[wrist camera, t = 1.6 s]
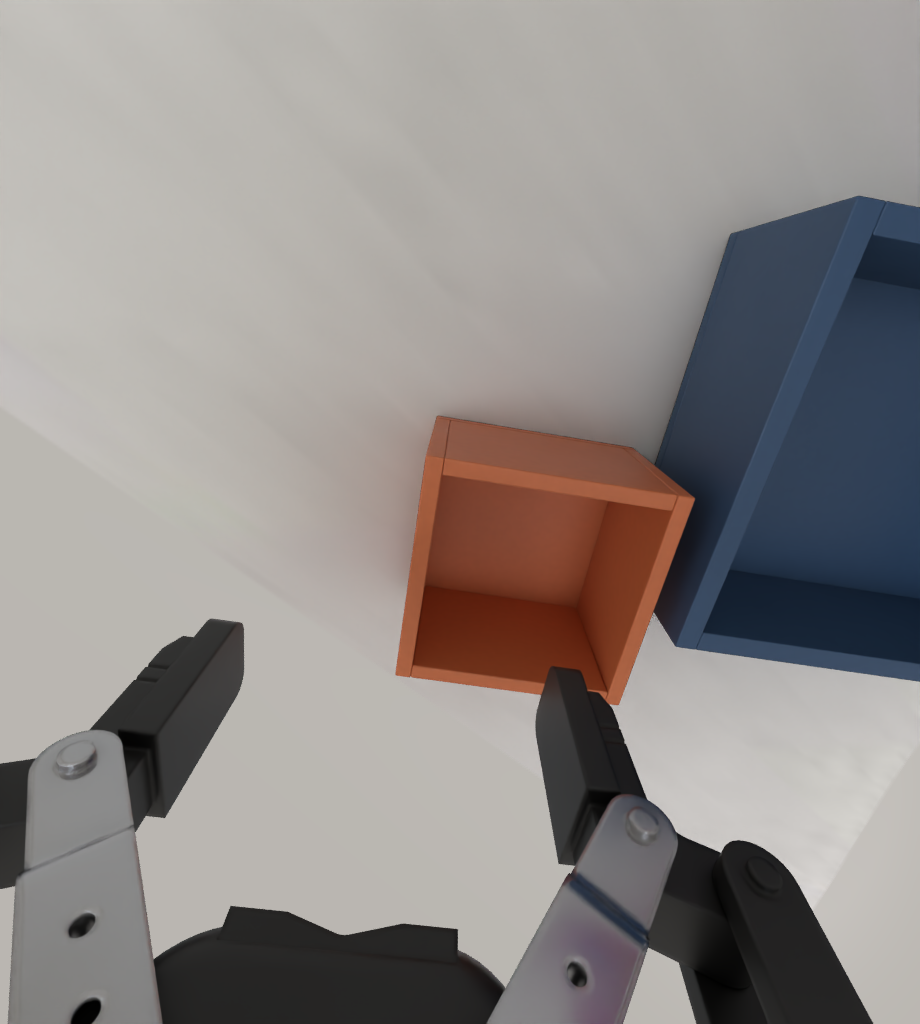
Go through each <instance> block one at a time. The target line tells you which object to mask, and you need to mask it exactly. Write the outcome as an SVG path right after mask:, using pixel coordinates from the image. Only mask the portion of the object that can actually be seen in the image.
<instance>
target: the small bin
mask: <svg viewBox="0 0 920 1024" xmlns="http://www.w3.org/2000/svg"><path fill="white" fill-rule="evenodd" d="M694 501H695V498H694V497H693V496H692V495H690V494H689V493H688V492H687V491H685V490H684V489H683V488H682V487H681V486H679V485H678V484H677V483H676V482H674V481H673V480H672V479H671V478H669V477H668V476H667V475H666V474H664V473H663V472H662V471H661V470H659V469H658V468H657V467H656V466H654V465H653V464H652V463H651V462H650V461H648V460H647V459H646V458H645V457H643V456H642V455H641V454H640V453H638V452H637V451H636V450H635V449H633V448H631V447H625V446H619V445H613V444H607V443H600V442H594V441H588V440H582V439H576V438H570V437H564V436H558V435H552V434H545V433H539V432H533V431H527V430H521V429H515V428H509V427H503V426H497V425H490V424H484V423H478V422H472V421H466V420H460V419H454V418H448V417H442V416H437V418H436V421H435V425H434V429H433V432H432V436H431V439H430V443H429V447H428V450H427V454H426V458H425V465H424V473H423V480H422V487H421V494H420V501H419V509H418V516H417V523H416V530H415V537H414V544H413V552H412V559H411V566H410V573H409V580H408V588H407V595H406V602H405V609H404V616H403V623H402V631H401V638H400V645H399V652H398V659H397V666H396V675H397V676H404V677H410V676H411V677H414V678H421V679H428V680H436V681H443V682H451V683H458V684H465V685H473V686H480V687H487V688H495V689H502V690H510V691H517V692H524V693H532V694H539V695H542V692H543V688H544V685H545V681H546V678H547V674H548V671H549V669H550V667H551V666H557V667H564V668H572V669H579V670H580V671H581V672H582V674H583V677H584V680H585V683H586V686H587V689H588V691H591V692H599V693H600V694H601V696H602V697H603V698H604V699H605V700H606V702H607V703H608V704H612V705H619V703H620V700H621V697H622V695H623V692H624V689H625V687H626V684H627V681H628V678H629V676H630V673H631V670H632V668H633V665H634V662H635V660H636V657H637V654H638V652H639V649H640V646H641V643H642V641H643V638H644V635H645V633H646V630H647V627H648V625H649V622H650V619H651V617H652V614H653V611H654V608H655V606H656V603H657V600H658V598H659V595H660V592H661V590H662V587H663V584H664V582H665V579H666V576H667V573H668V571H669V568H670V565H671V563H672V560H673V557H674V555H675V552H676V549H677V546H678V544H679V541H680V538H681V536H682V533H683V530H684V528H685V525H686V522H687V520H688V517H689V514H690V511H691V509H692V506H693V503H694Z"/></svg>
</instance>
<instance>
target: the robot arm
mask: <svg viewBox="0 0 920 1024" xmlns="http://www.w3.org/2000/svg"><path fill="white" fill-rule="evenodd" d="M243 675H244V628H243V624H242V623H240V622H232V621H225V620H218V619H210V620H208V621H207V622H206V623H205V624H204V626H203V627H202V628H201V629H200V630H199V632H198V633H197V634H196V635H195V637H186V636H183V637H181V638H179V639H178V640H176V641H174V642H172V643H171V644H169V645H167V646H166V647H164V648H162V650H161V651H160V652H159V653H158V654H157V655H156V656H155V657H154V658H153V660H152V661H151V662H150V663H149V665H148V667H145V668H144V670H143V671H142V672H141V673H140V674H139V675H138V677H137V679H136V680H134V681H133V682H132V683H131V684H130V685H129V686H128V687H127V689H126V690H125V691H124V692H123V693H122V694H121V695H120V696H119V698H118V699H117V700H116V701H115V702H114V703H113V704H112V705H111V706H110V708H109V709H108V710H107V711H106V712H105V713H104V714H103V716H101V718H100V719H99V720H98V721H97V722H96V723H95V724H94V725H93V727H92V728H91V729H90V730H89V731H83V732H79V733H76V734H72V735H70V736H67V737H65V738H63V739H61V740H59V741H57V742H55V743H54V744H52V745H51V746H49V747H48V748H46V749H45V750H44V751H43V752H42V753H41V754H40V755H39V756H38V757H37V758H36V759H30V760H23V761H16V762H9V763H2V764H0V889H3V888H8V887H12V886H15V899H14V919H13V936H12V955H11V974H10V992H9V1011H8V1024H623V1022H624V1019H625V1016H626V1013H627V1009H628V1007H629V1003H630V1001H631V998H632V995H633V992H634V989H635V986H636V983H637V980H638V976H639V973H640V970H641V967H642V964H643V961H644V958H645V955H646V952H647V949H648V948H651V949H652V950H655V951H657V952H659V953H661V954H663V955H665V956H667V957H669V958H671V959H673V960H675V961H677V962H679V965H680V968H681V972H682V975H683V979H684V982H685V985H686V989H687V993H688V996H689V1000H690V1003H691V1006H692V1009H693V1013H694V1017H695V1020H696V1024H873V1022H872V1021H871V1019H870V1017H869V1015H868V1013H867V1011H866V1009H865V1008H864V1006H863V1004H862V1002H861V1000H860V998H859V996H858V995H857V993H856V991H855V989H854V987H853V985H852V983H851V982H850V980H849V978H848V976H847V975H846V972H845V971H844V969H843V967H842V965H841V963H840V961H839V959H838V958H837V956H836V954H835V952H834V950H833V948H832V946H831V945H830V943H829V941H828V939H827V938H826V935H825V933H824V932H823V930H822V928H821V926H820V924H819V922H818V920H817V919H816V917H815V915H814V913H813V911H812V909H811V907H810V906H809V904H808V902H807V900H806V898H805V896H804V894H803V893H802V891H801V889H800V887H799V885H798V883H797V882H796V880H795V879H794V877H793V876H792V874H791V873H790V872H789V870H788V869H787V868H786V867H785V866H784V865H783V864H782V863H781V862H780V861H779V860H778V859H777V858H776V857H774V856H773V855H772V854H771V853H769V852H768V851H766V850H765V849H763V848H761V847H759V846H757V845H755V844H753V843H750V842H746V841H740V840H737V841H732V842H729V843H728V844H727V845H726V846H725V847H724V849H723V850H722V852H721V853H720V852H718V851H715V850H713V849H711V848H708V847H706V846H704V845H701V844H699V843H697V842H694V841H692V840H690V839H687V838H685V837H683V836H681V835H680V834H678V833H676V831H675V829H674V827H673V825H672V823H671V822H670V820H669V819H668V817H667V816H666V815H665V814H664V813H663V811H661V810H660V809H659V808H658V807H657V806H656V805H654V804H653V803H652V802H650V801H648V800H647V798H646V795H645V793H644V790H643V788H642V785H641V782H640V780H639V777H638V775H637V772H636V769H635V767H634V764H633V761H632V759H631V756H630V754H629V751H628V748H627V746H626V744H624V738H623V735H622V733H621V730H620V729H619V725H618V722H617V719H616V717H615V714H614V712H613V709H612V708H611V706H610V705H609V704H608V703H607V702H606V700H605V699H604V698H603V697H602V696H601V694H600V693H599V692H591V691H588V689H587V686H586V683H585V680H584V677H583V674H582V672H581V671H580V670H579V669H572V668H564V667H557V666H551V667H550V669H549V671H548V674H547V678H546V681H545V685H544V688H543V692H542V695H541V698H540V702H539V705H538V709H537V714H536V738H537V744H538V749H539V755H540V761H541V766H542V772H543V778H544V783H545V789H546V795H547V800H548V806H549V812H550V817H551V823H552V829H553V834H554V840H555V845H556V851H557V857H558V863H559V864H565V865H574V866H575V867H574V869H573V871H572V873H571V874H570V873H569V874H568V875H567V877H566V878H565V880H564V882H563V884H562V886H561V887H560V889H559V891H558V893H557V895H556V897H555V898H554V900H553V902H552V904H551V906H550V908H549V909H548V911H547V913H546V915H545V917H544V919H543V920H542V923H541V924H540V926H539V928H538V930H537V931H536V933H535V935H534V937H533V939H532V941H531V943H530V944H529V946H528V948H527V950H526V952H525V953H524V955H523V957H522V959H521V961H520V963H519V964H518V967H517V969H516V970H515V972H514V974H513V975H512V977H511V979H510V981H509V983H508V985H507V987H506V988H505V987H504V985H503V984H502V983H501V982H500V981H499V980H498V979H497V978H496V977H495V976H494V975H493V974H492V972H490V971H489V970H488V969H487V968H486V967H484V966H483V965H482V964H481V963H480V962H478V961H477V960H475V959H474V958H472V957H470V956H469V955H467V954H465V953H463V952H461V951H459V950H458V930H457V929H450V928H440V927H431V926H421V925H411V924H399V925H395V926H390V927H384V928H380V929H375V930H370V931H365V932H360V933H355V934H350V935H339V934H336V933H334V932H332V931H329V930H327V929H325V928H323V927H320V926H318V925H316V924H314V923H312V922H309V921H307V920H305V919H303V918H300V917H298V916H296V915H294V914H291V913H289V912H284V911H273V910H265V909H255V908H245V907H235V906H231V907H230V909H229V912H228V914H227V917H226V919H225V922H224V925H223V927H220V928H216V929H212V930H209V931H206V932H203V933H200V934H197V935H195V936H193V937H190V938H188V939H186V940H184V941H182V942H180V943H179V944H177V945H175V946H173V947H171V948H170V949H168V950H166V951H165V952H163V953H162V954H161V955H159V956H158V957H156V958H155V959H153V954H152V946H151V939H150V932H149V925H148V919H147V912H146V905H145V898H144V891H143V884H142V877H141V870H140V864H139V857H138V850H137V842H136V835H135V832H136V830H137V829H138V827H139V825H140V824H141V822H142V821H143V819H144V818H145V816H152V817H161V818H165V817H166V815H167V813H168V812H169V810H170V809H171V807H172V805H173V803H174V802H175V800H176V798H177V797H178V795H179V793H180V792H181V790H182V788H183V786H184V785H185V783H186V781H187V780H188V778H189V776H190V775H191V773H192V771H193V769H194V768H195V766H196V764H197V763H198V761H199V759H200V758H201V756H202V754H203V753H204V751H205V749H206V747H207V746H208V744H209V742H210V740H211V739H212V737H213V736H214V734H215V732H216V730H217V729H218V727H219V725H220V724H221V722H222V720H223V719H224V717H225V715H226V713H227V712H228V710H229V708H230V707H231V705H232V703H233V702H234V700H235V698H236V696H237V695H238V692H239V690H240V687H241V684H242V680H243Z"/></svg>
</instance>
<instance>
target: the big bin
mask: <svg viewBox="0 0 920 1024" xmlns="http://www.w3.org/2000/svg"><path fill="white" fill-rule="evenodd" d="M655 466H656V467H657V468H658V469H659V470H661V471H662V472H663V473H664V474H666V475H667V476H668V477H669V478H671V479H672V480H673V481H674V482H676V483H677V484H678V485H679V486H681V487H682V488H683V489H684V490H685V491H687V492H688V493H689V494H690V495H692V496H693V497H694V498H695V501H694V503H693V506H692V509H691V511H690V514H689V517H688V520H687V522H686V525H685V528H684V530H683V533H682V536H681V538H680V541H679V544H678V546H677V549H676V552H675V555H674V557H673V560H672V563H671V565H670V568H669V571H668V573H667V576H666V579H665V582H664V584H663V587H662V590H661V592H660V595H659V598H658V600H657V603H656V606H655V608H654V611H653V612H654V613H655V615H656V616H657V618H658V620H659V621H660V623H661V624H662V626H663V628H664V629H665V631H666V632H667V634H668V635H669V637H670V639H671V640H672V642H673V643H674V645H675V646H676V647H681V648H688V649H697V650H702V651H709V652H716V653H723V654H730V655H737V656H744V657H751V658H758V659H765V660H772V661H779V662H786V663H793V664H800V665H807V666H814V667H821V668H828V669H835V670H842V671H849V672H856V673H863V674H870V675H877V676H884V677H891V678H898V679H905V680H912V681H919V682H920V207H915V206H909V205H904V204H899V203H894V202H889V201H887V202H885V201H884V200H879V199H873V198H868V197H863V196H856V197H852V198H849V199H846V200H842V201H839V202H836V203H832V204H829V205H826V206H822V207H819V208H816V209H812V210H809V211H806V212H802V213H799V214H796V215H792V216H789V217H786V218H782V219H779V220H776V221H772V222H769V223H766V224H762V225H759V226H756V227H752V228H749V229H745V230H742V231H739V232H735V233H732V234H731V235H730V238H729V241H728V244H727V247H726V250H725V253H724V256H723V259H722V262H721V265H720V268H719V271H718V275H717V278H716V281H715V284H714V287H713V290H712V293H711V296H710V299H709V302H708V305H707V308H706V311H705V314H704V317H703V320H702V323H701V326H700V329H699V332H698V336H697V339H696V342H695V345H694V348H693V351H692V354H691V357H690V360H689V363H688V366H687V369H686V372H685V375H684V378H683V381H682V384H681V387H680V390H679V393H678V396H677V400H676V403H675V406H674V409H673V412H672V415H671V418H670V421H669V424H668V427H667V430H666V433H665V436H664V439H663V442H662V445H661V448H660V451H659V454H658V457H657V460H656V464H655Z"/></svg>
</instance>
